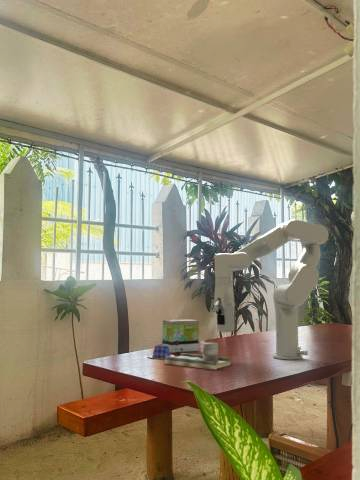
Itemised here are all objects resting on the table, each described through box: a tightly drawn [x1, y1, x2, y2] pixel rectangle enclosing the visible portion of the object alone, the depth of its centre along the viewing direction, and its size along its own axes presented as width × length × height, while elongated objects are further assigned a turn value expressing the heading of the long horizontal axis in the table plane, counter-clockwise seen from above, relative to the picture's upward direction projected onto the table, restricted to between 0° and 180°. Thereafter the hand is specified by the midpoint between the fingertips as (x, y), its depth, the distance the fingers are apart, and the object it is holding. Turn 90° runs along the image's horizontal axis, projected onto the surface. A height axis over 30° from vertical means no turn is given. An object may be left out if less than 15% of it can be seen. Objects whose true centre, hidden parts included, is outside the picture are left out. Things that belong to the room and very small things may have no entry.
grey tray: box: [164, 342, 231, 370], centre depth 177 cm, size 23×12×8 cm, turn 56°
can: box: [216, 303, 236, 333], centre depth 190 cm, size 8×8×12 cm
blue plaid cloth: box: [147, 344, 176, 360], centre depth 195 cm, size 12×12×5 cm
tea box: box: [161, 318, 200, 354], centre depth 215 cm, size 15×10×15 cm
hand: (225, 323), depth 190 cm, fingers closed on can, 7 cm apart
